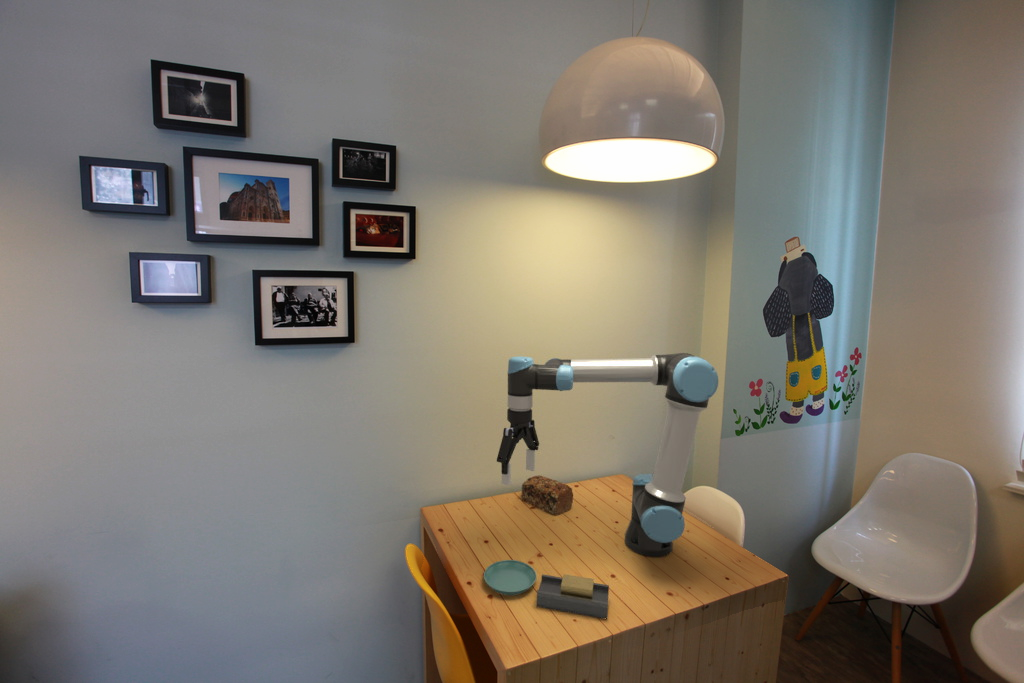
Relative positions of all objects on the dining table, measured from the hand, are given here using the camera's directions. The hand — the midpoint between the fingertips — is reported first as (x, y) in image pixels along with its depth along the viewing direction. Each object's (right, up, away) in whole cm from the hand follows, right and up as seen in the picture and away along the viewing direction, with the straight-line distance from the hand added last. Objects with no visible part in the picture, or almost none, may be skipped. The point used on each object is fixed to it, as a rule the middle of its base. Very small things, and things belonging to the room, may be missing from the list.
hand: (518, 476), depth 140 cm
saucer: (-3, -27, -11) cm, 29 cm away
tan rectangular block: (+15, -25, -20) cm, 35 cm away
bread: (+11, -23, +39) cm, 46 cm away
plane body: (+14, -27, -19) cm, 36 cm away
